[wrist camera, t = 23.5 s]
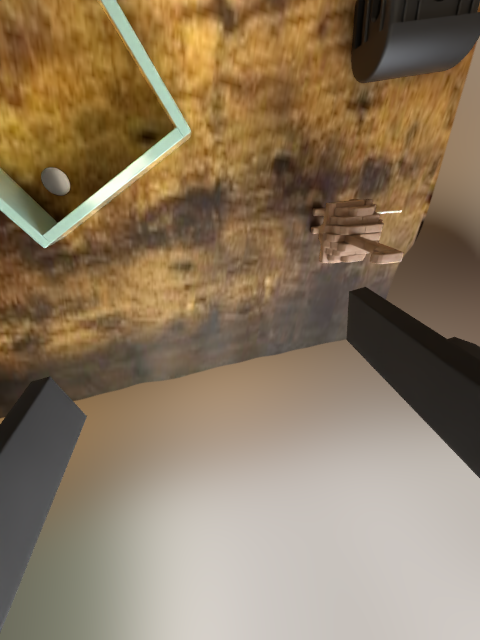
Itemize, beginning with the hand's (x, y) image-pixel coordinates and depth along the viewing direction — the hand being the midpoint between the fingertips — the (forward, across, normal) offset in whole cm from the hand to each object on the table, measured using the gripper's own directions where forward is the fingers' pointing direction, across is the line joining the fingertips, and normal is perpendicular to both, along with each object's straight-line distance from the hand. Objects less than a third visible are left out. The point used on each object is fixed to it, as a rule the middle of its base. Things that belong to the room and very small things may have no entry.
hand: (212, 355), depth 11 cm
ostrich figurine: (+27, +23, -4) cm, 35 cm away
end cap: (+27, +27, +14) cm, 40 cm away
